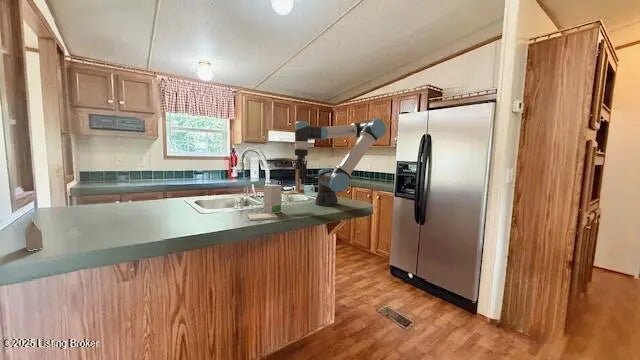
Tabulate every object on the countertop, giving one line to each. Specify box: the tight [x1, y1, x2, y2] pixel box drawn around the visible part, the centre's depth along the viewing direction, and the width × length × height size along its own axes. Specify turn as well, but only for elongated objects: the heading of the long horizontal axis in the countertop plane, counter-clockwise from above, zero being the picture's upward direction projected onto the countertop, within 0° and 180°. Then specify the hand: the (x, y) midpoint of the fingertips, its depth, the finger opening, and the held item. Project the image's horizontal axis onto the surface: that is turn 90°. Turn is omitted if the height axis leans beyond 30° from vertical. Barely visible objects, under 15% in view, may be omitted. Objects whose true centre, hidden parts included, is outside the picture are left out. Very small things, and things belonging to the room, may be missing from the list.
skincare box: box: [263, 184, 283, 214], centre depth 154 cm, size 8×7×16 cm
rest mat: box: [246, 213, 279, 222], centre depth 142 cm, size 14×9×1 cm, turn 114°
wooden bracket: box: [282, 168, 305, 196], centre depth 158 cm, size 12×6×14 cm, turn 114°
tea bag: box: [24, 217, 44, 251], centre depth 93 cm, size 4×7×10 cm, turn 48°
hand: (300, 189), depth 160 cm, fingers closed on wooden bracket, 4 cm apart
